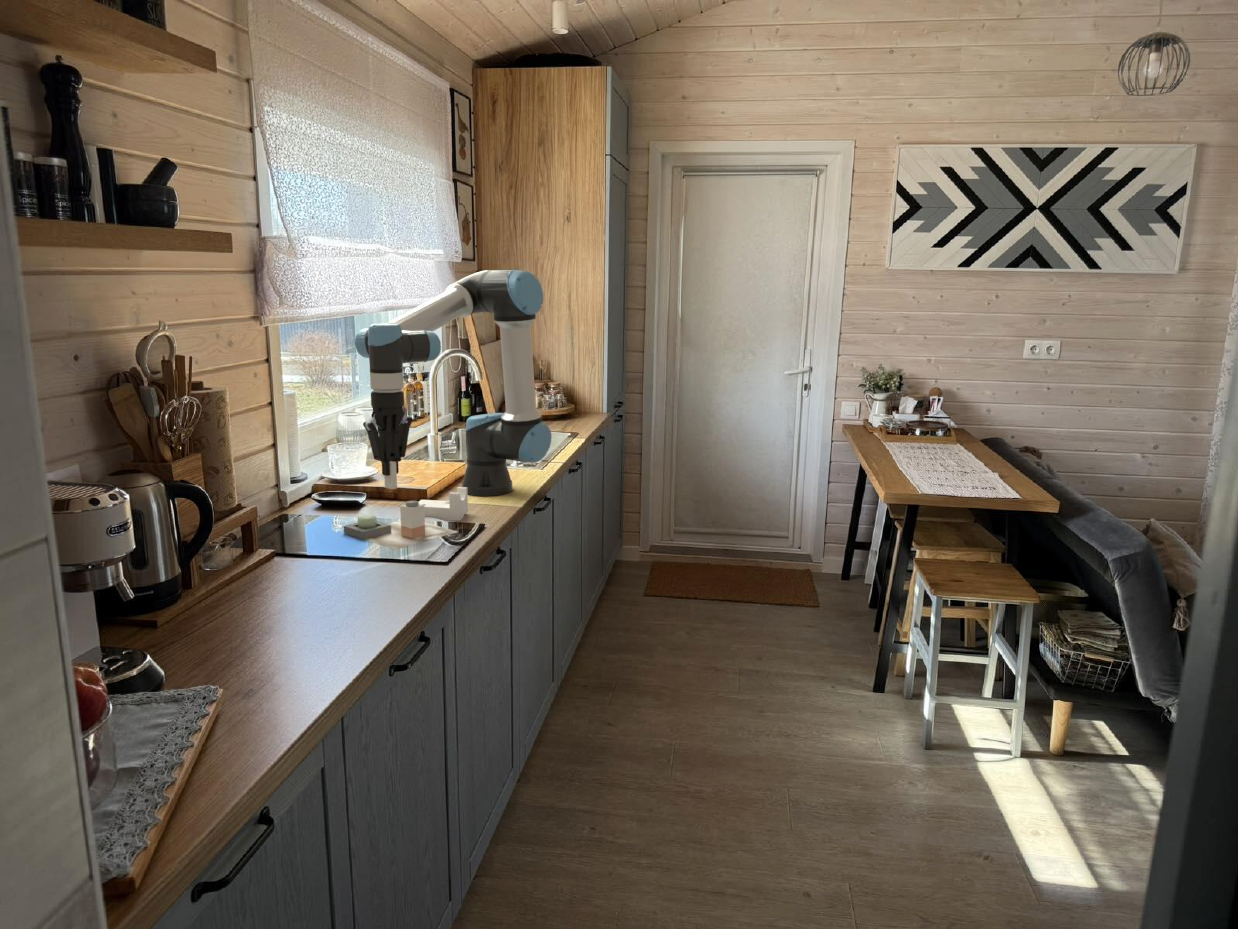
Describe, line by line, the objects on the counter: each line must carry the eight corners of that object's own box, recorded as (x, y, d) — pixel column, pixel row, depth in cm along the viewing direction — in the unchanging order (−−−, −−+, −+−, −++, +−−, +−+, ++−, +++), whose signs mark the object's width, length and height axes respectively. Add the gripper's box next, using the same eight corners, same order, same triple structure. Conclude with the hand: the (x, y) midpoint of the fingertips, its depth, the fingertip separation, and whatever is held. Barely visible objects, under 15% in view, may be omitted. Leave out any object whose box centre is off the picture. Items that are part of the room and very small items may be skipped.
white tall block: (414, 532, 212) (413, 499, 210) (425, 535, 210) (424, 502, 208) (401, 535, 209) (400, 502, 207) (412, 538, 207) (410, 505, 205)
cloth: (411, 519, 226) (410, 516, 226) (464, 534, 214) (464, 531, 213) (341, 536, 210) (340, 533, 210) (394, 554, 198) (394, 550, 197)
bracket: (468, 514, 233) (467, 487, 232) (459, 521, 226) (458, 493, 225) (421, 512, 235) (421, 485, 233) (412, 519, 228) (411, 491, 227)
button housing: (371, 526, 216) (371, 519, 216) (391, 532, 212) (391, 525, 211) (343, 533, 210) (343, 525, 210) (363, 540, 205) (363, 532, 205)
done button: (369, 523, 214) (369, 514, 213) (380, 527, 211) (380, 517, 210) (354, 527, 210) (353, 517, 210) (365, 531, 208) (364, 521, 207)
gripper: (399, 386, 210) (402, 481, 215) (353, 391, 200) (358, 490, 205) (419, 389, 206) (422, 485, 210) (374, 394, 195) (378, 495, 200)
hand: (391, 487), depth 207 cm, fingers closed
